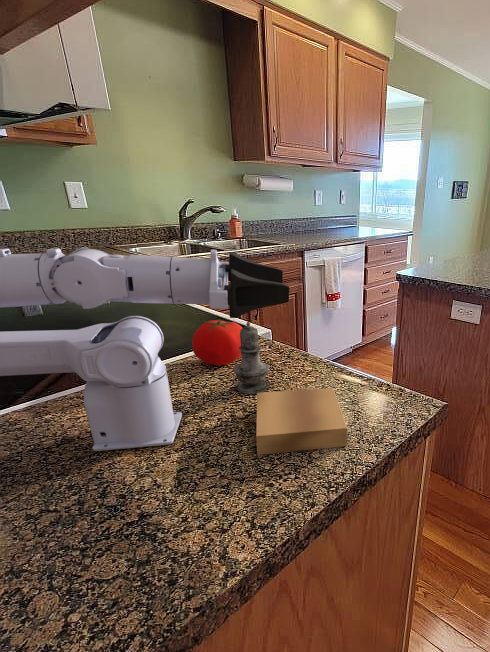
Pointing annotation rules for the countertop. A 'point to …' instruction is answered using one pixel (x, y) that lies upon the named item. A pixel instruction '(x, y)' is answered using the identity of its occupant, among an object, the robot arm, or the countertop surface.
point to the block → (299, 421)
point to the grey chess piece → (250, 363)
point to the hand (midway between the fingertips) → (285, 285)
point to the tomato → (217, 342)
